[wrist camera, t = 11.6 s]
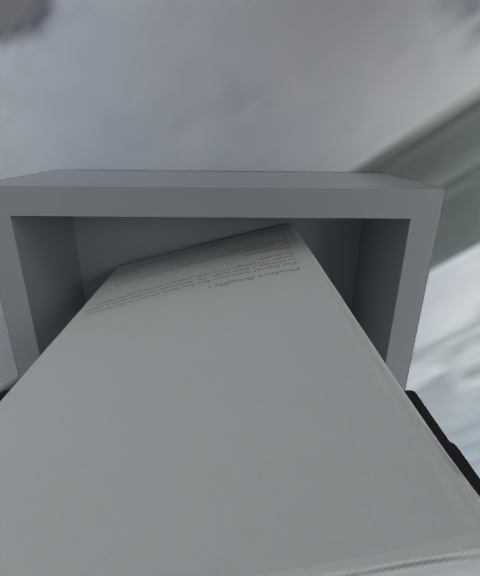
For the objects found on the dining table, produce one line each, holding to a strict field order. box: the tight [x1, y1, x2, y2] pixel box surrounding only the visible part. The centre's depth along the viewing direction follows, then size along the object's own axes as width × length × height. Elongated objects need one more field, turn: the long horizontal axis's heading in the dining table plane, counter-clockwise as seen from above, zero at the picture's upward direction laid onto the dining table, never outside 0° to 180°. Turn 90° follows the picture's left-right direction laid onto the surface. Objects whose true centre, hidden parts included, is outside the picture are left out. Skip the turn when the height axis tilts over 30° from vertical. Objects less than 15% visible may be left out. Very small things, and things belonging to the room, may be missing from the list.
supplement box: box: [0, 223, 480, 576], centre depth 10 cm, size 7×7×13 cm
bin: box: [0, 170, 445, 390], centre depth 15 cm, size 13×13×5 cm
